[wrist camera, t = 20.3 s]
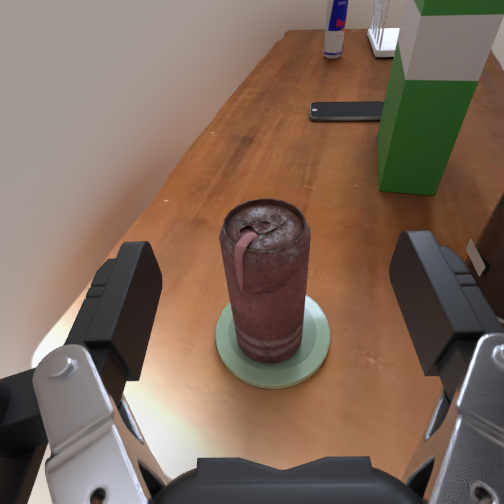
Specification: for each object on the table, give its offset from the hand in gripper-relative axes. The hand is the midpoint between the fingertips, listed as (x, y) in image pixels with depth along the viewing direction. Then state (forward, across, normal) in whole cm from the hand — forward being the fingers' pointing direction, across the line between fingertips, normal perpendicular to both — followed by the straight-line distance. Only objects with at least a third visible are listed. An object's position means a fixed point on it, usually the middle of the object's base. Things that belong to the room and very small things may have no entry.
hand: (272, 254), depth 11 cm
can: (+9, 0, +20) cm, 22 cm away
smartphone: (+60, -17, +22) cm, 66 cm away
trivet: (+10, 0, +21) cm, 23 cm away
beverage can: (+98, -20, +22) cm, 103 cm away
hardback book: (+41, -22, +22) cm, 51 cm away
